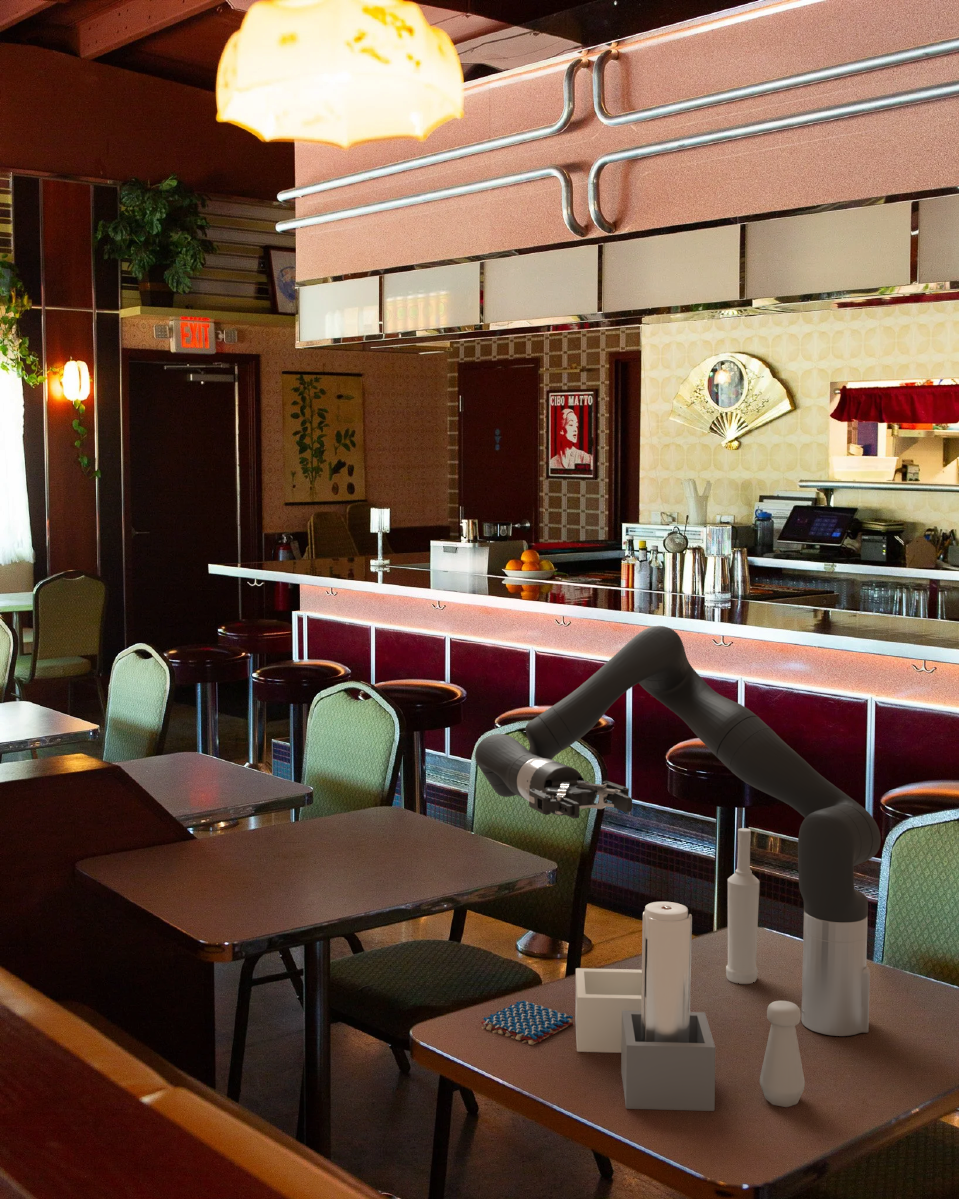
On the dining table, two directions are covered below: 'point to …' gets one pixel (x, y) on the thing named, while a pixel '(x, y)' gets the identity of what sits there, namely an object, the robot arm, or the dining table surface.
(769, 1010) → the salt shaker
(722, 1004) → the dining table surface
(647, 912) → the silver tall cylinder
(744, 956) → the bottle
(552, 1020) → the woven mat
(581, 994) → the white open box
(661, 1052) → the grey open box
